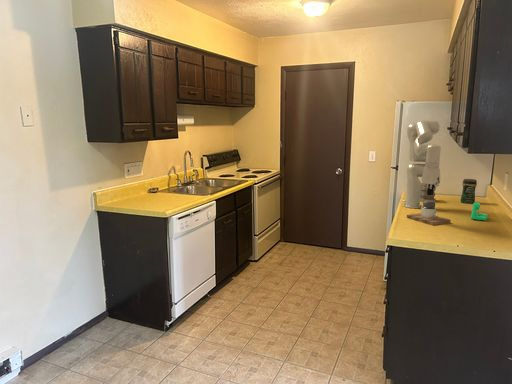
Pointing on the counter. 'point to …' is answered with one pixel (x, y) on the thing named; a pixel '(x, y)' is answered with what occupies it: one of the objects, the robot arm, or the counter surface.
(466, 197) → the coffee jar
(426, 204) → the grey sphere
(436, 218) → the pipe flange plate
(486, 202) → the counter surface
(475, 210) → the camera mount
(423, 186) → the tankard
